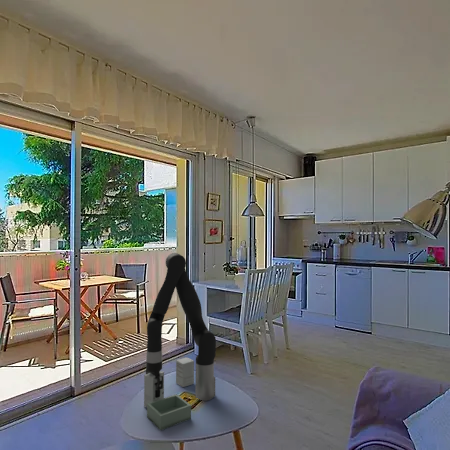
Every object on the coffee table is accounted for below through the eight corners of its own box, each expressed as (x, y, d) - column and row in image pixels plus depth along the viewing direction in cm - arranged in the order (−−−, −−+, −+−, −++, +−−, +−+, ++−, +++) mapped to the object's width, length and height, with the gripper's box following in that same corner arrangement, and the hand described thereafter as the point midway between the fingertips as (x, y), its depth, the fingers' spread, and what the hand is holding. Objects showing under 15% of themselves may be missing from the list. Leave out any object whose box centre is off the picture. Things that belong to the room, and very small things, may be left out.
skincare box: (152, 409, 161) (153, 377, 161) (143, 406, 164) (143, 375, 164) (164, 402, 168) (164, 371, 168) (155, 399, 171) (155, 368, 171)
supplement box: (186, 379, 194) (187, 356, 195) (194, 384, 189) (194, 360, 189) (175, 383, 190) (175, 359, 190) (182, 387, 184) (183, 363, 184)
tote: (176, 407, 164) (176, 394, 164) (190, 418, 153) (191, 405, 153) (146, 417, 154) (147, 403, 155) (160, 430, 144) (160, 416, 144)
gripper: (168, 362, 163) (168, 397, 163) (154, 353, 174) (154, 386, 174) (153, 366, 158) (153, 402, 158) (140, 356, 170) (140, 390, 169)
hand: (154, 394), depth 166 cm, fingers closed on skincare box, 7 cm apart
